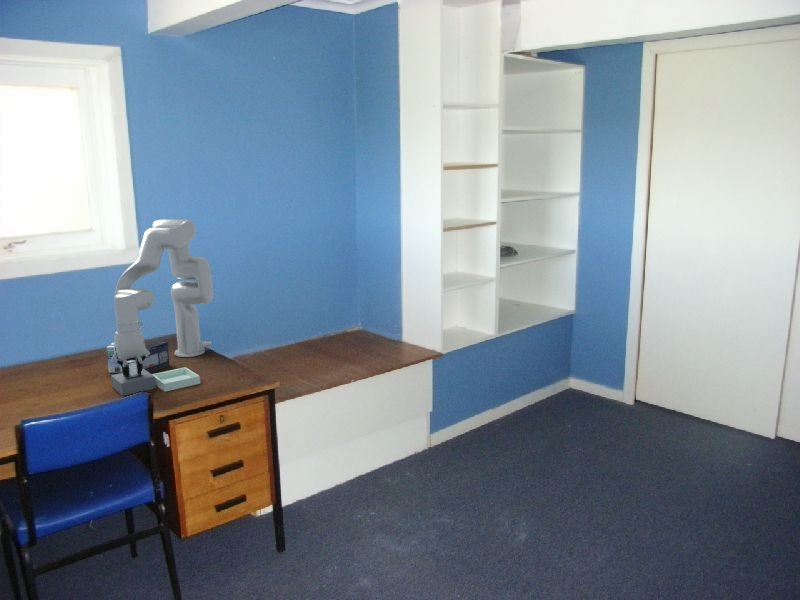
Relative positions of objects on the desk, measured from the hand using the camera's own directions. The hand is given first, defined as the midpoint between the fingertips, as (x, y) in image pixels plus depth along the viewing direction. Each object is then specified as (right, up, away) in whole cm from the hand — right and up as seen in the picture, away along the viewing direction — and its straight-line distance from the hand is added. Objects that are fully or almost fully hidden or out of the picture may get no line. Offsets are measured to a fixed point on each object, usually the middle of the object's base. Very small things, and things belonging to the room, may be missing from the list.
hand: (132, 374), depth 253 cm
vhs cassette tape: (-1, -1, +19) cm, 19 cm away
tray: (+14, -4, +6) cm, 16 cm away
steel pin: (0, -5, +1) cm, 5 cm away
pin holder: (0, -5, +1) cm, 5 cm away
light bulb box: (-11, -1, +21) cm, 24 cm away
